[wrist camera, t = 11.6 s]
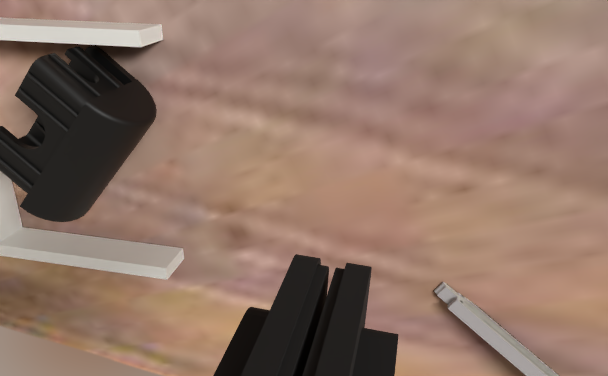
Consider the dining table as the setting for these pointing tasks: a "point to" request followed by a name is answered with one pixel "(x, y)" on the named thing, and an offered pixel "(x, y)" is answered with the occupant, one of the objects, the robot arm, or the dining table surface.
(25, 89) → the end cap
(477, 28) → the dining table surface
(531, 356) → the caliper
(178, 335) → the dining table surface
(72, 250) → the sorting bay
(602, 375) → the dining table surface
